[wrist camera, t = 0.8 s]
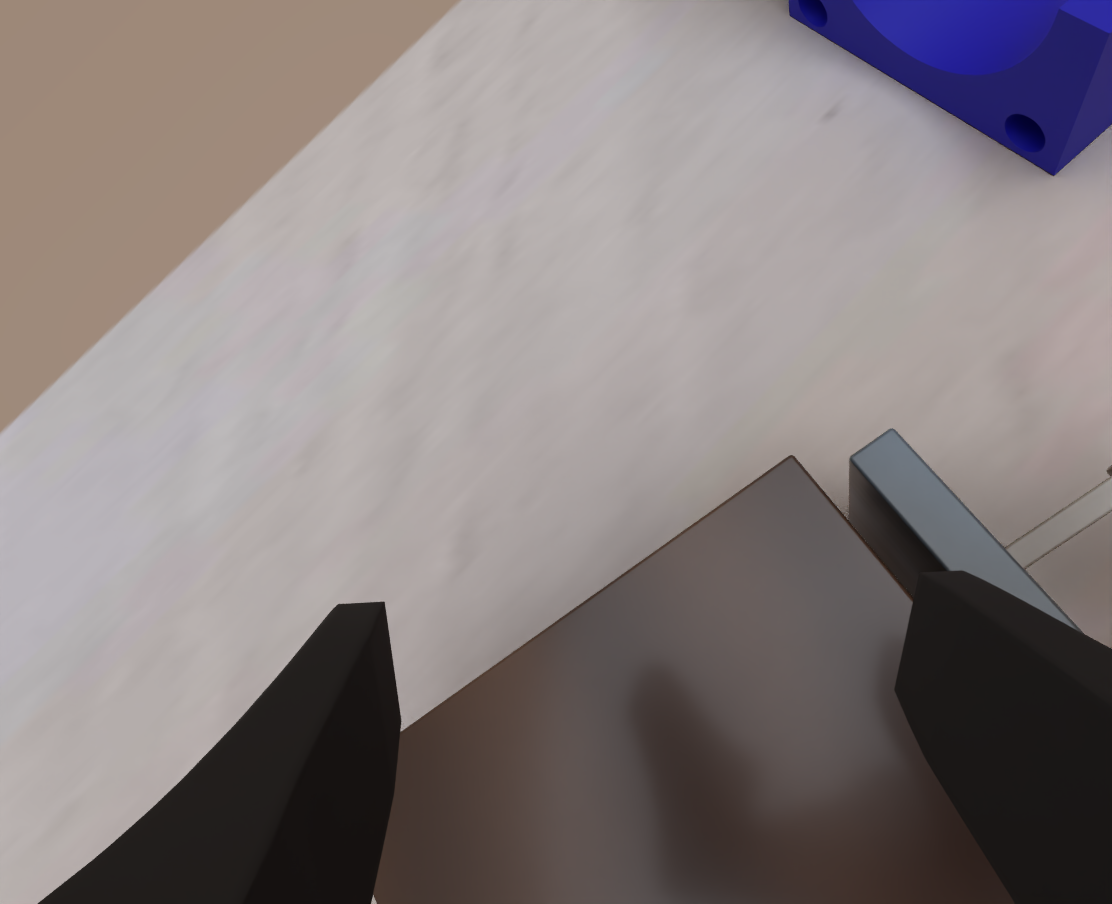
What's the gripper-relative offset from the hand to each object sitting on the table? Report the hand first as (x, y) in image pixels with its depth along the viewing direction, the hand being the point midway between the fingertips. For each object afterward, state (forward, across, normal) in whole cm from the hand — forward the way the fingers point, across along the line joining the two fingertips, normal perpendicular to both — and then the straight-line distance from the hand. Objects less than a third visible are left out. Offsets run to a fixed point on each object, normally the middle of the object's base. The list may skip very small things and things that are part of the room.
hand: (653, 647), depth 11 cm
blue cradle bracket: (+22, -15, -8) cm, 28 cm away
